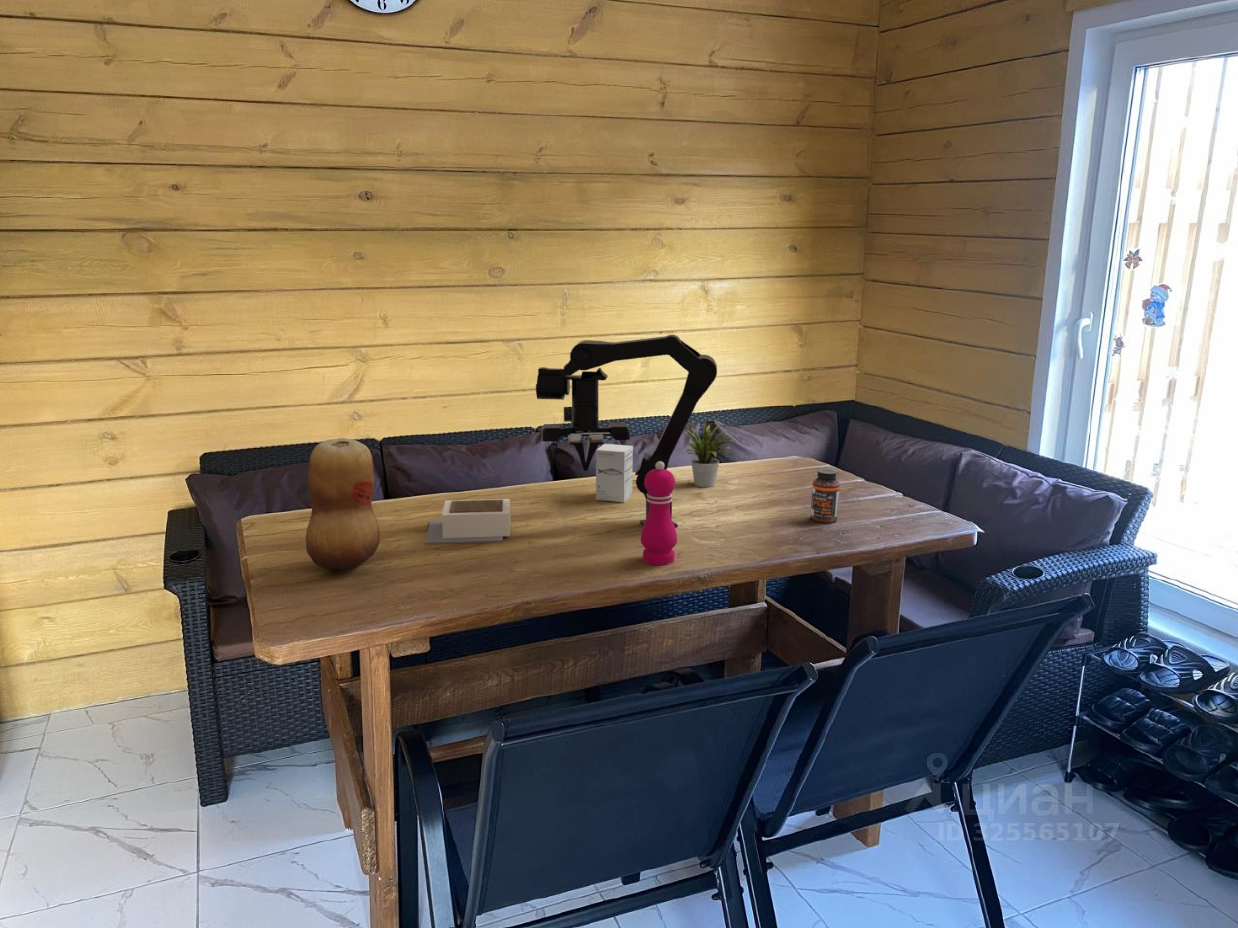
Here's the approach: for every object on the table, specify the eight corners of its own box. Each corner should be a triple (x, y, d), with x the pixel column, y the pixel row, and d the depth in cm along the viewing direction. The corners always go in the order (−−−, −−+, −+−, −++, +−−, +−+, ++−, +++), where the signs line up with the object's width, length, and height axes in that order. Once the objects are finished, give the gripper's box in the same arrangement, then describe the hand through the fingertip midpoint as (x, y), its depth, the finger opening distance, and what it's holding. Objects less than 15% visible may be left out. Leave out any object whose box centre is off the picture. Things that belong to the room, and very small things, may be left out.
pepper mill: (632, 559, 189) (633, 461, 184) (657, 551, 194) (659, 455, 189) (659, 568, 184) (660, 468, 179) (684, 560, 189) (686, 461, 184)
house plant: (701, 496, 233) (703, 431, 229) (663, 484, 243) (664, 422, 239) (742, 486, 242) (744, 423, 238) (703, 476, 252) (705, 415, 248)
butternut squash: (345, 585, 175) (336, 452, 169) (293, 572, 181) (282, 444, 175) (397, 563, 186) (390, 437, 180) (346, 551, 193) (338, 430, 187)
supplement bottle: (809, 522, 213) (812, 473, 210) (811, 514, 219) (813, 466, 216) (837, 524, 212) (840, 474, 209) (837, 516, 217) (840, 468, 214)
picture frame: (509, 497, 211) (445, 499, 209) (509, 511, 200) (441, 513, 199) (510, 520, 212) (446, 522, 211) (510, 536, 202) (442, 538, 200)
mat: (503, 519, 215) (503, 517, 214) (502, 541, 199) (502, 540, 199) (431, 521, 213) (430, 519, 213) (424, 544, 197) (424, 542, 197)
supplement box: (595, 500, 229) (594, 449, 226) (604, 492, 236) (604, 442, 233) (624, 503, 227) (624, 451, 224) (633, 495, 234) (633, 444, 231)
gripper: (624, 393, 214) (623, 460, 218) (540, 394, 212) (541, 462, 216) (630, 402, 203) (629, 473, 207) (542, 403, 201) (543, 475, 205)
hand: (585, 470), depth 209 cm, fingers closed
